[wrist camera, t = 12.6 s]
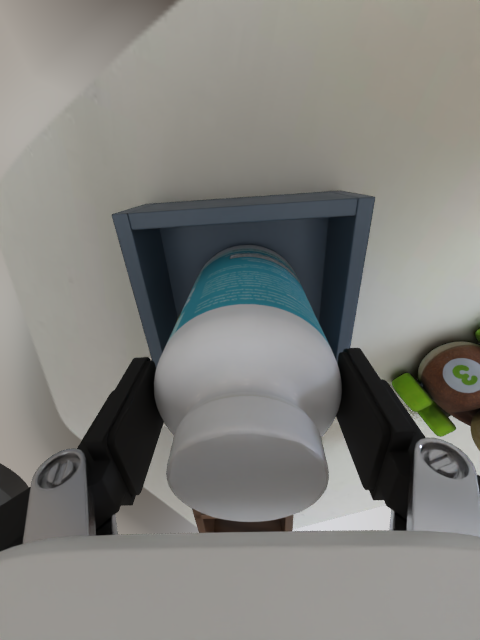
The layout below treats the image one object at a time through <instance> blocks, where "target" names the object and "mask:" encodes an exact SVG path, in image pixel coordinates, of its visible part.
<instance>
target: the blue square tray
mask: <svg viewBox="0 0 480 640" xmlns="http://www.w3.org/2000/svg"><path fill="white" fill-rule="evenodd" d="M374 202H375V197H373V196H368V195H362V194H356V193H350V192H345V191H328V192H314V193H299V194H284V195H270V196H255V197H240V198H226V199H211V200H197V201H182V202H167V203H153V204H144V205H141V206H138V207H134V208H131V209H128V210H124V211H121V212H118V213H115V214H112V218H113V222H114V225H115V229H116V232H117V236H118V240H119V243H120V247H121V250H122V254H123V257H124V261H125V265H126V268H127V272H128V275H129V279H130V283H131V286H132V290H133V293H134V297H135V300H136V304H137V308H138V311H139V315H140V318H141V322H142V326H143V329H144V333H145V336H146V340H147V343H148V347H149V351H150V354H151V358H152V361H154V363H155V366H156V368H157V365H158V362H159V359H160V357H161V355H162V353H163V351H164V348H165V346H166V344H167V342H168V340H169V338H170V335H171V333H172V331H173V329H174V327H175V325H176V322H177V320H178V318H179V316H180V314H181V312H182V309H183V307H184V305H185V303H186V301H187V299H188V296H189V294H190V292H191V290H192V288H193V286H194V284H195V281H196V279H197V277H198V275H199V273H200V272H201V270H202V268H203V267H204V265H205V264H206V263H207V262H208V261H209V260H210V259H211V258H212V257H214V256H215V255H216V254H218V253H219V252H221V251H223V250H225V249H227V248H231V247H234V246H239V245H255V246H261V247H264V248H267V249H270V250H272V251H274V252H276V253H277V254H279V255H280V256H281V257H283V258H284V259H285V260H286V261H287V262H288V263H289V264H290V266H291V267H292V268H293V270H294V272H295V273H296V275H297V277H298V279H299V282H300V284H301V286H302V288H303V290H304V292H305V295H306V297H307V299H308V301H309V303H310V305H311V307H312V310H313V312H314V314H315V316H316V318H317V320H318V322H319V324H320V326H321V329H322V331H323V333H324V335H325V337H326V339H327V341H328V343H329V345H330V347H331V350H332V352H333V354H334V357H335V359H336V361H337V363H338V356H339V353H340V352H343V350H344V349H346V348H350V345H351V339H352V333H353V327H354V321H355V315H356V309H357V303H358V297H359V291H360V285H361V279H362V273H363V267H364V261H365V255H366V249H367V244H368V238H369V232H370V226H371V220H372V214H373V208H374Z"/></svg>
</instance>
